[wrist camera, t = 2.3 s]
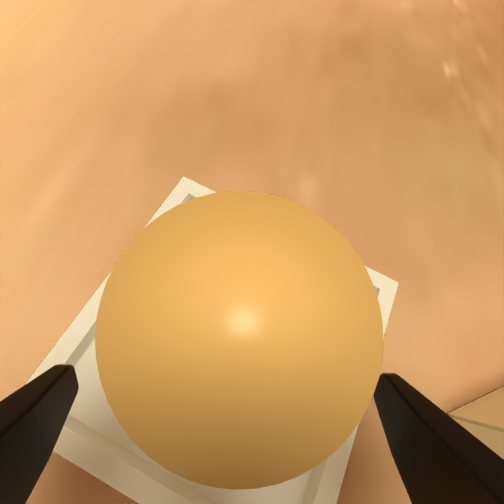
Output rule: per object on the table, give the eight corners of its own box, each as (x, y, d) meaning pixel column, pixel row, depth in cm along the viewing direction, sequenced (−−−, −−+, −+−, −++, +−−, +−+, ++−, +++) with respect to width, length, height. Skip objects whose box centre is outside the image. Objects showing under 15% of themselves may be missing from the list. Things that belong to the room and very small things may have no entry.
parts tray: (295, 570, 13) (306, 606, 11) (28, 409, 14) (-1, 418, 12) (381, 289, 19) (398, 282, 17) (187, 192, 20) (183, 176, 18)
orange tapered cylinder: (248, 404, 15) (327, 565, 4) (170, 360, 15) (21, 383, 4) (284, 322, 16) (411, 258, 5) (214, 285, 17) (197, 154, 6)
